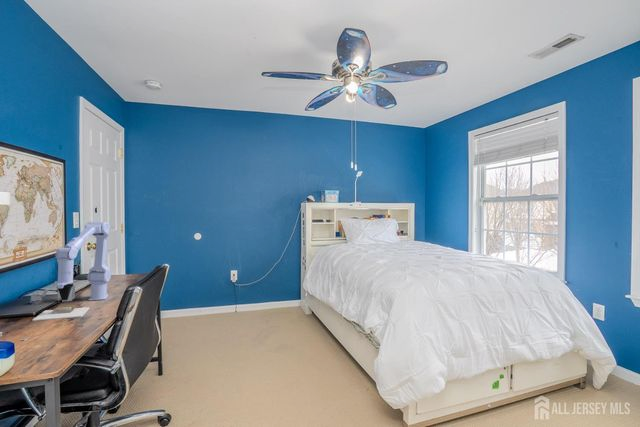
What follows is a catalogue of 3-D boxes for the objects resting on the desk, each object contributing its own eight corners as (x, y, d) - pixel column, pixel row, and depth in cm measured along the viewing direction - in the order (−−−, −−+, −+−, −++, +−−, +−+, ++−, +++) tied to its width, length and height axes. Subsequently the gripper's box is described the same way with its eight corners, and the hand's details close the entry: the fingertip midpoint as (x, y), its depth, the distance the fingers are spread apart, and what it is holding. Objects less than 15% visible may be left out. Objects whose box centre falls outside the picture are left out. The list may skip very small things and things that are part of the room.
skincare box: (74, 298, 173) (75, 285, 173) (70, 301, 167) (71, 287, 167) (61, 299, 171) (62, 285, 171) (56, 302, 165) (57, 288, 165)
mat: (44, 311, 150) (44, 310, 150) (89, 308, 157) (89, 307, 157) (32, 321, 137) (32, 319, 137) (81, 316, 145) (81, 315, 145)
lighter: (30, 304, 159) (30, 289, 159) (31, 303, 160) (32, 288, 160) (48, 303, 162) (48, 288, 162) (49, 302, 164) (49, 287, 164)
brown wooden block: (61, 303, 153) (55, 308, 146) (75, 302, 156) (70, 307, 148) (60, 308, 153) (54, 313, 146) (75, 307, 156) (70, 312, 148)
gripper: (60, 269, 154) (59, 296, 154) (49, 275, 141) (48, 304, 141) (78, 269, 157) (77, 295, 157) (68, 274, 144) (67, 303, 144)
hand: (64, 299), depth 149 cm, fingers closed
